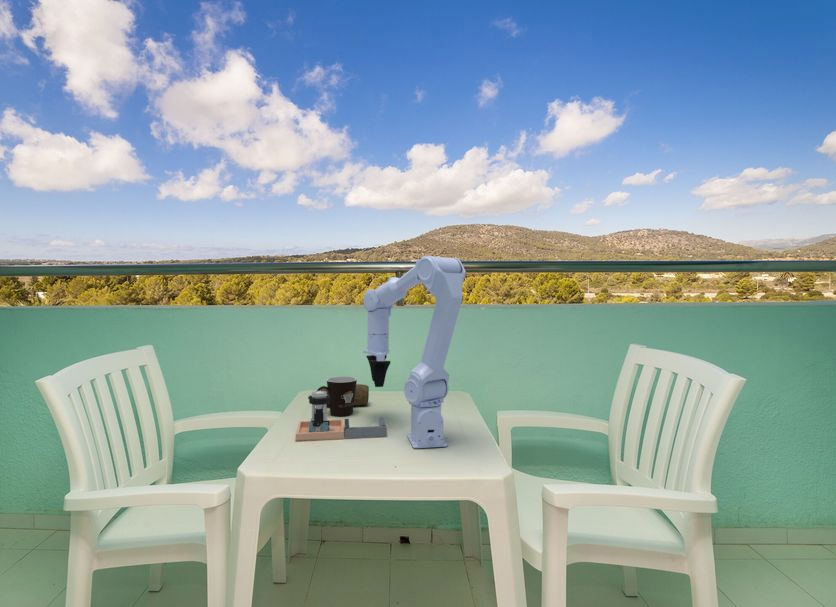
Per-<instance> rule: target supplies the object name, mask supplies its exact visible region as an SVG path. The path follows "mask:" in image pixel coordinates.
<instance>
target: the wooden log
mask: <svg viewBox="0 0 836 607" xmlns="http://www.w3.org/2000/svg"><path fill="white" fill-rule="evenodd" d="M369 388H370V387H369V385H367V384H360V383H359V384H357V383H356V391H355V399H354V407H356V406H365V405H367V404H368V403H369V399H370V398H369V397H370V396H369V392H370V390H369ZM320 391H326V392H327V395H328V391H327V389H325V388H323V389H321V390H320ZM328 404H329V403H328ZM327 407H329V406H328V405H327Z"/></svg>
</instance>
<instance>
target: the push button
mask: <svg viewBox="0 0 836 607" xmlns="http://www.w3.org/2000/svg"><path fill="white" fill-rule="evenodd" d="M329 398H330V395H327V392H326V391H317V390H315V391H312V392H311V395H308V396H307V399H308V402H309V404H310V405H311V418H310V421H311V422H310V423H309V432H328V431H335V430H332V429H329V427H333V426H329V421H328V420H329V419H328V418H327V411H328V410H327V407H328V406H327V403H329ZM334 427H335V426H334Z"/></svg>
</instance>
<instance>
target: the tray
mask: <svg viewBox="0 0 836 607" xmlns="http://www.w3.org/2000/svg"><path fill="white" fill-rule="evenodd" d="M328 421H329V426H333V427H329V429H332V430H335V431H328V432H309V423H310V422H311V420H300V421H298V422H297V427H296V431H295V442H313V441H332V440H333V441H334V440H335V441H336V440H344V439H345V428H344V420H343V419H328ZM334 426H335V427H334Z"/></svg>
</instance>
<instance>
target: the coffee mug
mask: <svg viewBox="0 0 836 607" xmlns="http://www.w3.org/2000/svg"><path fill="white" fill-rule="evenodd" d="M357 382H358V379H357V377H355V376H354V377H353V376H332V377H329V378H326V386H325V385H322V386H320V387H318V388H317V389H316V391H320V390H321V389H323V388H325V389H327V391H328V395H330V398H329V404H328V403H327V405H328V406H327V407H329V413H330V416H331V417H336V418H344V417H349V416H353V414H354V407H355V406H354V399H355V391H356V384H357Z"/></svg>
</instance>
